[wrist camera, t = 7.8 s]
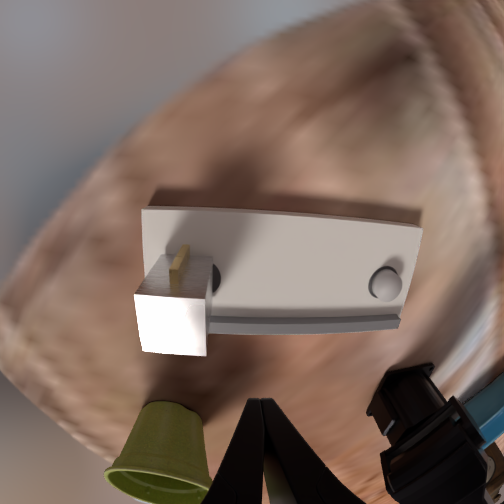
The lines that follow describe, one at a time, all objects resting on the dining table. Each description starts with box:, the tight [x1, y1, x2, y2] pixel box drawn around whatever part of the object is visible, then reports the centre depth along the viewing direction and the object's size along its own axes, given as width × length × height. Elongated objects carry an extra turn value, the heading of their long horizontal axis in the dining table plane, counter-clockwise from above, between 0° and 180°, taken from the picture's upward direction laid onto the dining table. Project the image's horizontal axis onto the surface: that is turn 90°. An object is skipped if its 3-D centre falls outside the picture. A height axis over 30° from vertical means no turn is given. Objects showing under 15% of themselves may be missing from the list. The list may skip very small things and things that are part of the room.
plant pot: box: [104, 401, 213, 504], centre depth 18 cm, size 9×9×9 cm
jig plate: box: [142, 206, 423, 335], centre depth 17 cm, size 18×8×2 cm, turn 86°
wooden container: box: [484, 442, 504, 503], centre depth 29 cm, size 15×15×22 cm
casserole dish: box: [455, 372, 504, 450], centre depth 27 cm, size 37×22×7 cm, turn 111°
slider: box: [134, 244, 213, 356], centre depth 13 cm, size 3×4×5 cm
